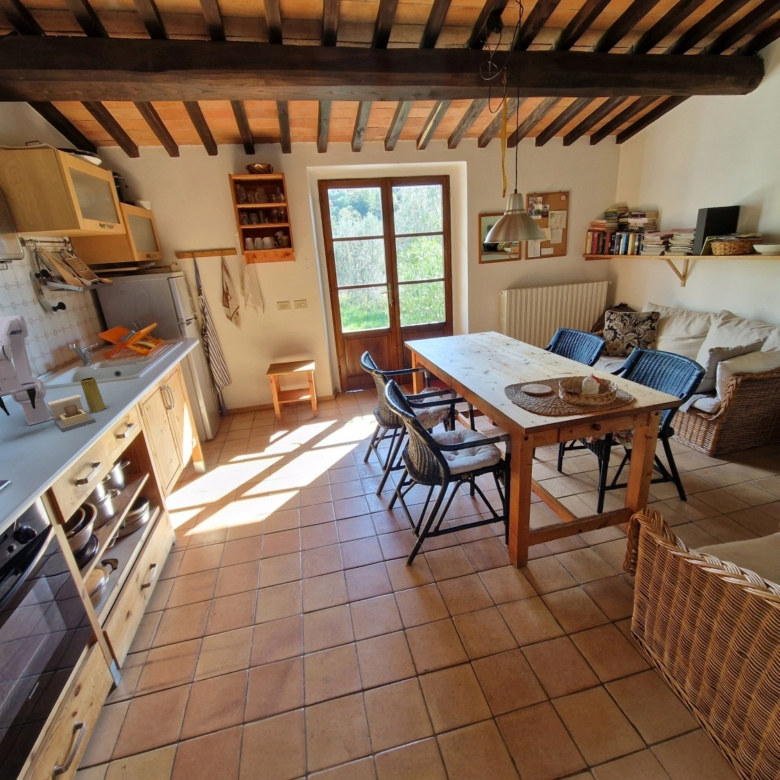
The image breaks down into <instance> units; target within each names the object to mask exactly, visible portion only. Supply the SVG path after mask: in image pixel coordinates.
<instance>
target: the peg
mask: <svg viewBox="0 0 780 780" xmlns="http://www.w3.org/2000/svg"><path fill="white" fill-rule="evenodd" d="M64 410H65V413H66V415H67V418H69V417H72V416H76V415H79V412H78V409H77V406H76V405H75V404H73V405H68V406H65V407H64Z"/></svg>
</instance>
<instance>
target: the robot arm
mask: <svg viewBox="0 0 780 780" xmlns="http://www.w3.org/2000/svg"><path fill="white" fill-rule="evenodd" d="M28 336H29V331H28V327H27V323H26V320H25V318H24V316H23V315H21V314H16V315H10V316H9V315H8V316H0V408H1V409H2V410H3V412H5V414H6V416H7V417H9V416H11V414H10V412H9V410H8V408H7V407H6V404H5V401H4V399H3V398H2V397H6V396H11V398H12V400H13V401H14V402H16V403H18V404H19V405H21V407H22V409H23V412H24V414H25V416H26V419H25V421H26V423H27V424H28V426H32V425H36V424H40V423H43V422H44V423H45V422H47V421H51V420H54V416H52V415H51V414H50V411H49V410H48V407H47V404H46V402H45V398H46V396H47V390H46V388H45V385H44V382H43V381H42V380H41V379H40V378H37V377H34V376H33V374H32V369H31V366H30V361H29V357H28V352H27V347H26V343H25V342H26V341H25V340H26V339H27V337H28ZM12 361H13V362H12Z"/></svg>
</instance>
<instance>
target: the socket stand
mask: <svg viewBox="0 0 780 780" xmlns="http://www.w3.org/2000/svg"><path fill="white" fill-rule="evenodd" d="M81 399H83V396H82V395H81V394H79V393H78V394H75V395H72V396H67V397H64V398H60V399H56V400H55V399H54V400H52V401H48V402H46V403H47V404H46V405H47V406H48V407H50V409H51V410H50V411H51V413H52V415H53V422H54V424H55V425H56V426H57V427H58V428H59V429H60V431H61V432H62V433H64V432H67V431H71V430H74V429H78V428H81V427H83V426H87V425H90V424H93V423H94V424H95V423H96V422H97V421H96V419H95V417H93V416H92V415H91V414H90V412H87V411H86V409H84V407H83V405H82V402H81ZM73 404H75V405H76V406H77V409H78V412H79V415H76V416H72V417H69V418H67V415H66V413H65V410H64V407H65V406H68V405H73Z"/></svg>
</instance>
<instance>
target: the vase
mask: <svg viewBox="0 0 780 780" xmlns="http://www.w3.org/2000/svg"><path fill="white" fill-rule="evenodd" d="M79 383H80V385H81V388H82V391H83V393H84V398H85V400H86V405H87V407H88V411H89V413H99V412H102V411H104V410H106V409H105V408H107V406H106V405H105V403H104V399H103V397H102V394H101V392H100V389H99V386H98V383H97V380H96V378H95V377H94V376H90V377H85V378H82V379H80V381H79ZM101 410H102V411H101ZM98 411H99V412H98Z"/></svg>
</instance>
